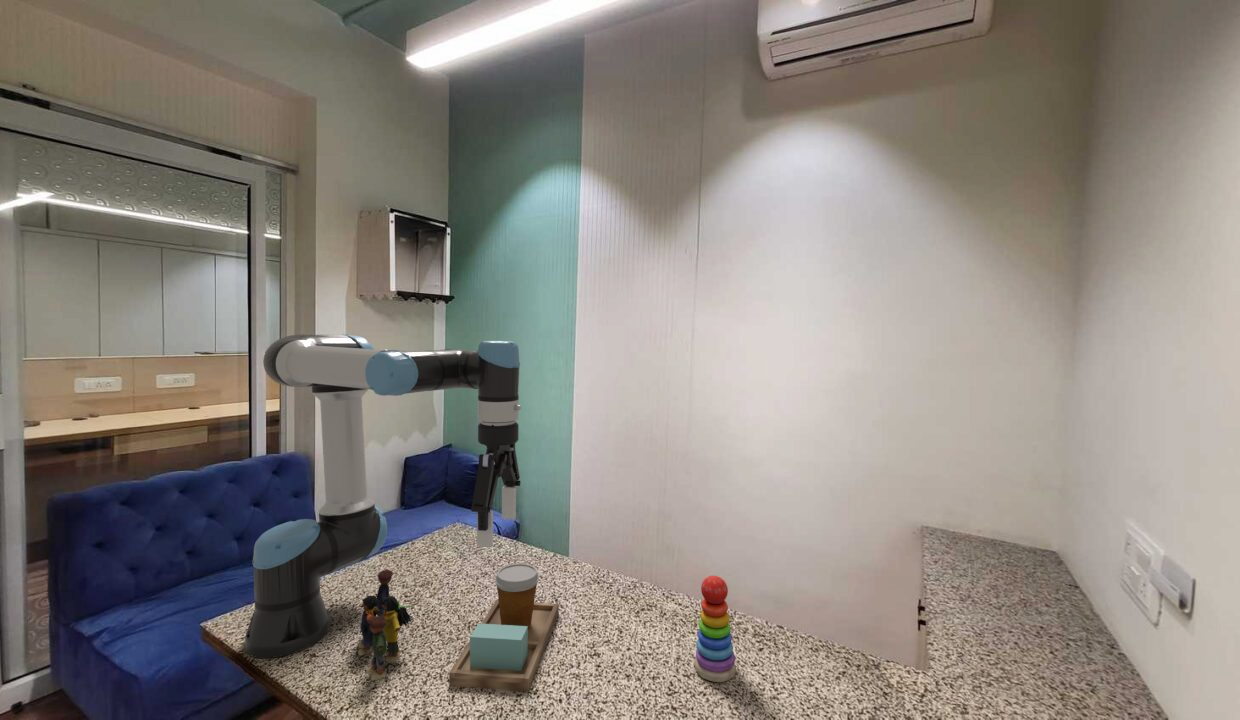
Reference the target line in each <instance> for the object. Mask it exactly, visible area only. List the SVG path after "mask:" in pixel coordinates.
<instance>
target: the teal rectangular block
mask: <svg viewBox="0 0 1240 720" xmlns="http://www.w3.org/2000/svg"><path fill="white" fill-rule="evenodd" d="M469 641H470V668H485V669H500V670H515V671H522V668H523V666H524V663H525V661H526V659H527V656H528V626H514V625H497V624H481V622H480V623H477V625H476V627H475V629H473V631H472V633H471V634H470V637H469Z"/></svg>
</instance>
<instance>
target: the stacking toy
mask: <svg viewBox="0 0 1240 720" xmlns="http://www.w3.org/2000/svg"><path fill="white" fill-rule="evenodd" d="M700 586H701V587H700V589H701V594H702V597H703V600H702V601H701V603H700V604H701V605H700V606H701V612H700V620H699V622H698V627H699V629H698V632H697V637H698V638H697V640H696V651H695V658H694V664H693V665H694V669H695V672H697V674H698V675H699V676H700V677H701V678H703V679H705V680H707V681H710V682H714V683H723V682H727V681H729V680H731V679H732V678H733V677H734V676H735V674H736V672H737V671H736V670H737V668H736V667H737V665H736V663H735V661H736V657H735V653H734V651H733V650H734V645H733V643H732V640H733V639H732V633H731V625H730V614H729V613H728V610H729V609H728V608H729V607H728V603H727V602H726V599H727V596H728V594H729V591H728V590H729V588H728V585H727V582H726V581H725V580H724V579H723V578H722V577H720V576H719V575H709V576H707V577H705V578H704V579H703V580H702V582H701V585H700Z"/></svg>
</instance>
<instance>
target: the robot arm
mask: <svg viewBox="0 0 1240 720" xmlns="http://www.w3.org/2000/svg"><path fill="white" fill-rule="evenodd" d="M519 351H520V349H519V345H518V343H516V342H515V341H510V340H509V341H508V340H504V341H503V340H482V341H481V340H480V342H479V343H478V350H468V349H467V350H466V349H457V348H444V349H437V350H436V349H435V350H397V349H396V350H395V349H394V350H393V349H391V350H390V349H378V348H377V349H375V348H374V346H373V345H372V344H371V343H370V342H369V340H367V339H366V338H364V336H363V337H362V336H360V335H353V334H344V333H341V334H306V333H305V334H304V333H303V334H292V335H288V336H283V337H282V338H279V339H277V340H275V341H273V343H271V344H270V345H269V347H268V348H267V349H266V351H265V352H264V356H263V359H262V360H263V361H262V362H263V369H264V372H265V373H266V375H267V376H268V377H269V379H271V380H273V382H275V383H277V384H279V385H282V386H286V387H292V388H307V387H308V388H310V387H311V393H312V395H313V396H314V397H315V398H317V399H318V400H319V404H320V405H319V406H320V420H321V421H320V422H321V435H322V436H321V438H322V439H321V440H322V456H323V473H324V474H323V476H324V492H325V493H324V494H325V496H324V497H325V503H324V504H323V506H321V507H320V509H319V510H318V521H316V520H315V519H310V518H303V519H302V518H301V519H297V520H295V521H293V520H290V521H287V522H284V523H280V524H278V525H276V526H273V527H272V528H269V529H268V530H266V531H265V532H263V533H261V535H260V536H259V537H258V538H257V539H256V541H255V544H254V546H253V557H252V565H253V591H254V592H253V593H254V610H253V613H252V616H251V619H250V622H249V624H248V627H247V631H246V633H245V635H244V650H245V652H246V653H247V655H249V656H251V657H254V658H262V659H268V658H270V659H271V658H276V657H283V656H287V655H290V654H294V653H296V652H299V651H301V650H304V649H306V648H308V647H311V646H312V645H314V644H316V643H317V642H319V641H320V640H321V639H322V638H323V637H325V636H326V635H327V633H328V632H329V630H330V626H331V622H330V621H331V615H330V612H329V611H328V609H327V607H326V604H325V602H324V600H323V597H322V594H321V578H322V577H324V576H327V575H328V574H331V573H334V572H336V571H338V570H341V569H343V568H346V567H348V566H350V565H353V564H355V563H359V562H361V561H364V560H366V559H367V558H369V557H370V556H373V555H375V554H376V553H378V551H379V550H380V549H381V548H382V546H383V545H384V543H385V542H386V538H387V532H388V522H387V519H386V516H384V512H383V510H382V509H381V508H379V507H378V506H376V505H375V504H376V503H375V500H373V499H372V498H370V497H369V496H368V491H367V472H366V454H365V451H366V450H365V437H364V418H363V417H364V416H363V399H362V398H363V396H364V395H365V394H366V393H367V392H368V391H369V390H371V391H373V392H374V394H376V395H379V396H383V397H385V396H395V397H396V396H397V397H398V396H402V395H406V394H407V395H408V394H414V393H415V394H416V393H422V392H431V391H433V392H434V391H441V390H442V391H443V390H450V389H451V390H452V389H471V390H472V389H473V390H477V420H478V421H479V424H477V441H478V443H479V444H480V445H484V446H485V447H486V452H485V454H481V453H480V454H479V455H478V466H477V467H478V469H477V473H476V481H475V485H474V491H473V498H472V503H471V507H470V510H471V512H472V513H476V547H478V548H492V547H493V546H494V510H493V509H492V506H493V503H494V502H493V501H494V498H495V493H496V489H497V485H498V480H499V478H501V480H502V484H503V486H502V487H501V519H503V520H515V519H516V515H517V513H516V512H517V510H516V509H517V487H520V486H521V480H520V479H521V478H520V471H519V465H518V464H519V463H518V458H517V452H516V443H517V442H518V441H519V429H520V428H519V423H518V422H517V420H519V411H521V410H522V405H520V404H519V401H520V400H519V399H520V398H519V382H520V378H519V377H520V366H521V362H520V352H519Z"/></svg>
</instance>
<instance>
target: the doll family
mask: <svg viewBox="0 0 1240 720" xmlns="http://www.w3.org/2000/svg"><path fill="white" fill-rule="evenodd" d="M393 575H394V574H393V571H392V570H390V569H383V570H381V571H379V572H378V574H377V579H378V582H379V584H380V585H379V587H378V590H377V594H376V595H374V594H373V595H368V596H366V597H364V598H363V599H362V600H361V601H362V603H360V602H357V604H358V605H360V608H363V611H362V615H361V623H360V631H361V634H362V640H361V641H360V642H359V643H358V645H357V647H358V648H359V650H358V652H357V654H358V656H365V655H367V654H369V653H370V652H373V656H372V659H371V663H370V664H371V665H370V666H368V667H367V669H366V672H365V673H366V674H367V675H370V680H371V681H376V680H380V679H384V678H385V677H386V676H387V675H388V674H387V672H386V671H384V666H385V664H386V663H392V662H395V661H397V660H399V659H400V658H401V654H400V653H399V651H400V647H399V643H398V640H399V639H398V634H399V632H400V630H401V627H402V626H406V627H407V626H408V625H409V622H412V620H414V619H415V618H414V617H413V616H411V614H410V613H408V611H407V608H410V607H412V604H409V605H403V606H401V605H400V601H399V600H397V598H396V597H395V596H393V595H390V586H389V584H390V582H391V580H392V577H393ZM384 657H385V661H384V660H383V659H384ZM385 662H386V663H385Z"/></svg>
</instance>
